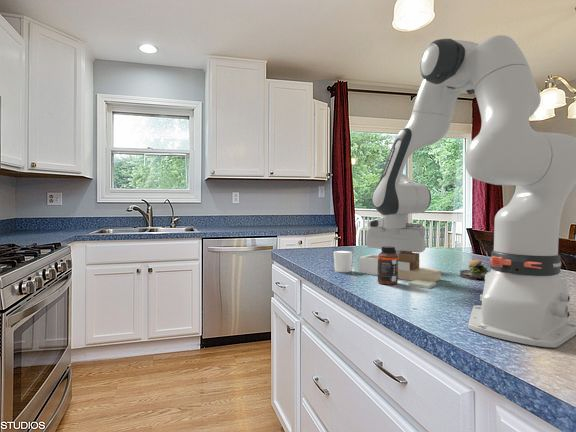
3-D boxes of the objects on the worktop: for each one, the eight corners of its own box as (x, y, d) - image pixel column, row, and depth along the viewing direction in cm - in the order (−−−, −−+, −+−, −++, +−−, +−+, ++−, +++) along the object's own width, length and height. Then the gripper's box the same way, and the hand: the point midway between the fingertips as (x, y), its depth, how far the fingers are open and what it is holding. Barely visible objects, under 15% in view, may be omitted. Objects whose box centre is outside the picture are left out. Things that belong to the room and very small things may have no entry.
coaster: (428, 288, 101) (428, 285, 101) (408, 285, 105) (408, 282, 105) (436, 285, 105) (436, 282, 105) (416, 282, 109) (416, 279, 109)
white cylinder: (338, 268, 132) (338, 249, 132) (355, 270, 128) (355, 251, 128) (329, 271, 126) (329, 251, 126) (346, 273, 122) (347, 253, 122)
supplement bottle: (400, 285, 104) (400, 247, 104) (379, 285, 105) (380, 247, 104) (394, 281, 110) (395, 245, 110) (375, 280, 110) (376, 245, 110)
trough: (430, 283, 107) (430, 265, 107) (359, 272, 124) (359, 257, 124) (440, 279, 113) (440, 262, 113) (371, 269, 130) (371, 254, 130)
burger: (476, 282, 110) (477, 259, 110) (451, 275, 122) (451, 253, 122) (508, 281, 113) (509, 258, 113) (480, 274, 125) (481, 253, 124)
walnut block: (413, 270, 113) (413, 254, 113) (398, 268, 116) (398, 253, 116) (419, 268, 116) (419, 253, 116) (404, 266, 120) (404, 251, 120)
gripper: (429, 223, 114) (428, 265, 115) (372, 221, 128) (372, 259, 129) (421, 224, 110) (420, 268, 110) (363, 221, 123) (363, 261, 124)
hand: (394, 263), depth 119 cm, fingers closed
